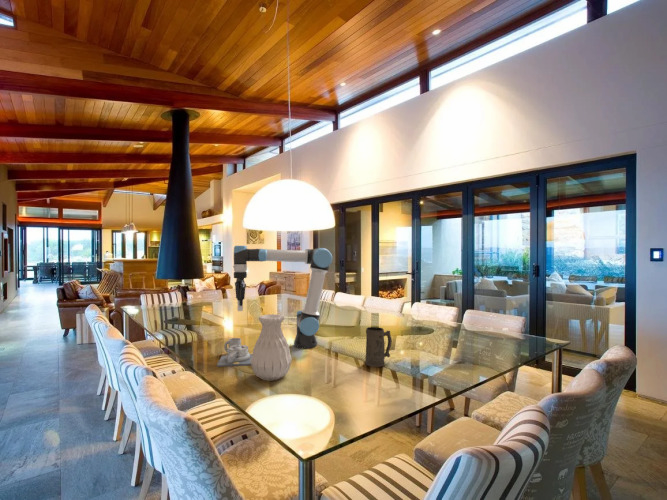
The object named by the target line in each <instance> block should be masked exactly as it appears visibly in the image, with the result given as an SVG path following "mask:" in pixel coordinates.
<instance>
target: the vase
mask: <svg viewBox="0 0 667 500" xmlns="http://www.w3.org/2000/svg"><path fill="white" fill-rule="evenodd" d="M284 320H285V317H284V315H282V314H264V315H260V316H259V317H258V321H259V322H260V324H261V330H260V334H259V336H258V338H257V340H256V342H255V345H254V347H253V350H252V354H253V356H252V359H251V365H250V366H251V368H252V371H253V373H254V375H255V376H256V377H258V378H260V380H261V379H262V380H263V381H268V382H269V381H277V380H280V379H281V378H282V379H283V377H284V376H286V375H287V374H288V373H289V371H290V368H291V364H292V361H293V359H292V355H291V352H290V351H291V350H290V346H289V344H288V342H287V339H286V337H285V336H284V333H283V330H282V323H283V322H284Z"/></svg>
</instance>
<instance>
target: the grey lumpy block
mask: <svg viewBox="0 0 667 500" xmlns="http://www.w3.org/2000/svg"><path fill="white" fill-rule="evenodd" d="M235 347H242V348H240V349H237V351H235V349H234V348H235ZM227 349H228V350H227V352H226V355H228V362H233V361H234V360H235V359H236V358H237V357H241V356H245V355H247V354H248V353H249V345H246V344H241V346H239V345H233V346H230V348H229V347H227Z"/></svg>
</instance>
